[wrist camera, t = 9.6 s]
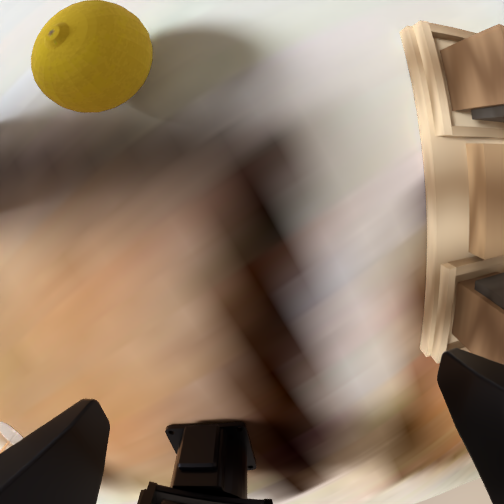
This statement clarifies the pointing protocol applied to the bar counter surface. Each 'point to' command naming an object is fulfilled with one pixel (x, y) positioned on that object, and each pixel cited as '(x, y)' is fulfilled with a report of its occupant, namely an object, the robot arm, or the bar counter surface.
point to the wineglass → (9, 435)
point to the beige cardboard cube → (477, 74)
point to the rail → (458, 207)
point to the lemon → (91, 56)
